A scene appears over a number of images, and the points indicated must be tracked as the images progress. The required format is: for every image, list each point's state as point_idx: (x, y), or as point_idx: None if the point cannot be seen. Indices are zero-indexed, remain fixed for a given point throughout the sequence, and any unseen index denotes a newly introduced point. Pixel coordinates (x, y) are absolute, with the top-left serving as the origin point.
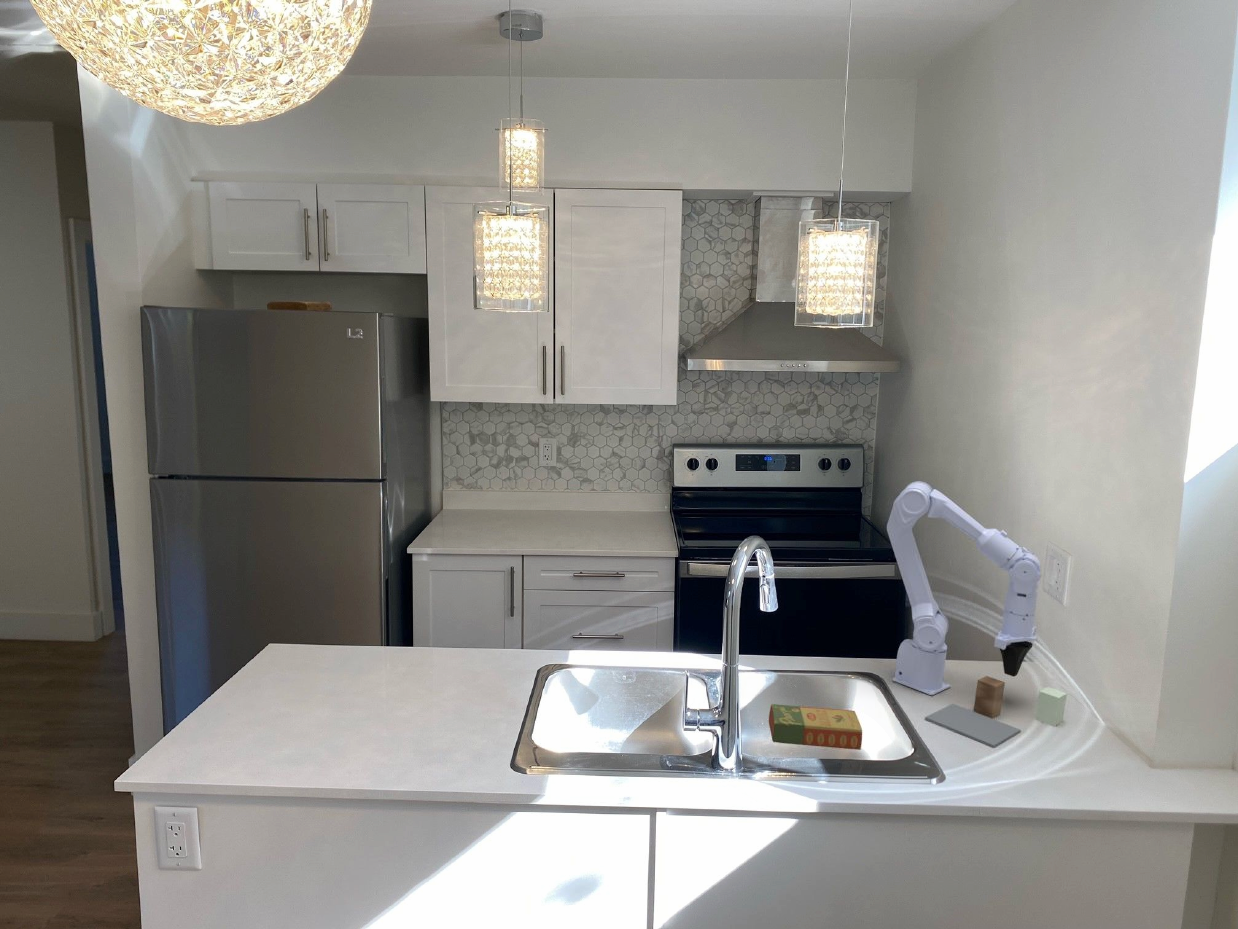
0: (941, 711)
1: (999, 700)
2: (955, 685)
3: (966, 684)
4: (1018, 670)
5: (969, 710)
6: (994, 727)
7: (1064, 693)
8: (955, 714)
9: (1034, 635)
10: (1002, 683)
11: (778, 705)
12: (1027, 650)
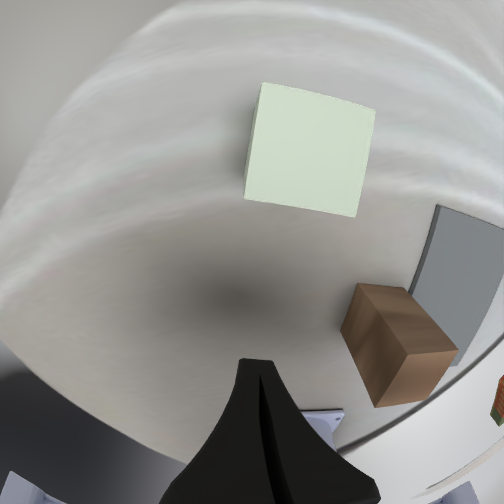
0: None
1: (398, 313)
2: None
3: (202, 395)
4: (249, 375)
5: None
6: (457, 263)
7: (274, 92)
8: None
9: (20, 480)
10: (424, 353)
11: (501, 423)
12: (239, 480)
